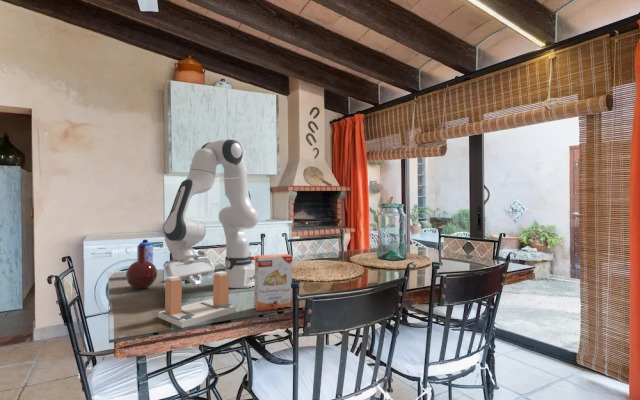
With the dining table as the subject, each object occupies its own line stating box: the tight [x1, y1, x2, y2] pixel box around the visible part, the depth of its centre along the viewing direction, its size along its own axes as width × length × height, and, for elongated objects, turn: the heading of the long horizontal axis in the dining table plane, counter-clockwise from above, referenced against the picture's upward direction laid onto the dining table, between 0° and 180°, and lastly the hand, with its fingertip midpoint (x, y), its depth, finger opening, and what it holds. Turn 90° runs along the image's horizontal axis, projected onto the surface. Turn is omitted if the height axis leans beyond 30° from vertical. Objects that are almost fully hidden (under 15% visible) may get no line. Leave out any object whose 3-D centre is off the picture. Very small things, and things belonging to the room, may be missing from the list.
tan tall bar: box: [212, 270, 230, 308], centre depth 140 cm, size 4×4×13 cm
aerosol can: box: [136, 239, 154, 264], centre depth 195 cm, size 8×8×20 cm
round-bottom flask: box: [125, 245, 158, 290], centre depth 172 cm, size 13×13×20 cm
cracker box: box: [253, 253, 293, 312], centre depth 145 cm, size 14×6×21 cm, turn 114°
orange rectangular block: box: [164, 276, 183, 315], centre depth 131 cm, size 4×4×13 cm
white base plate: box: [157, 298, 236, 329], centre depth 136 cm, size 22×16×3 cm
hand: (198, 285), depth 149 cm, fingers closed
